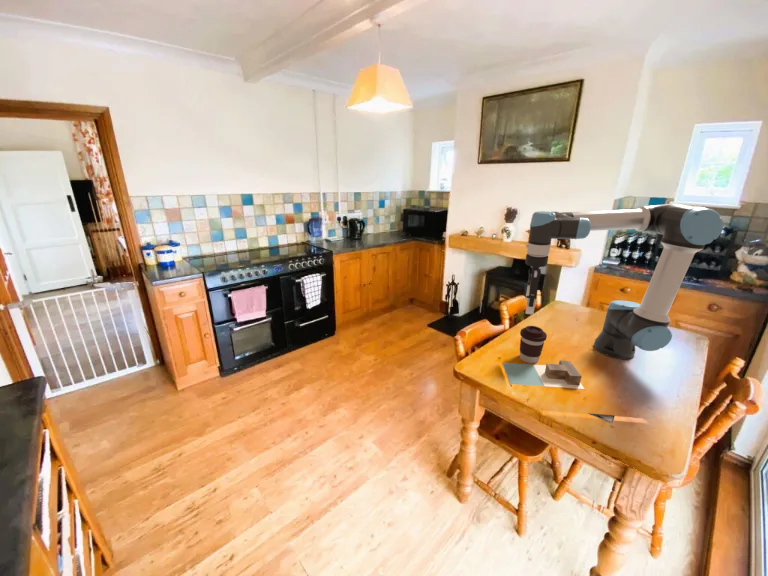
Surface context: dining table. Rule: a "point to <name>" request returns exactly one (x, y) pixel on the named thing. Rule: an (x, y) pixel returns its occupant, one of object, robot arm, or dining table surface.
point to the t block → (563, 372)
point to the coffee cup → (531, 343)
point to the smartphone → (604, 417)
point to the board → (533, 376)
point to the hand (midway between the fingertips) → (529, 306)
